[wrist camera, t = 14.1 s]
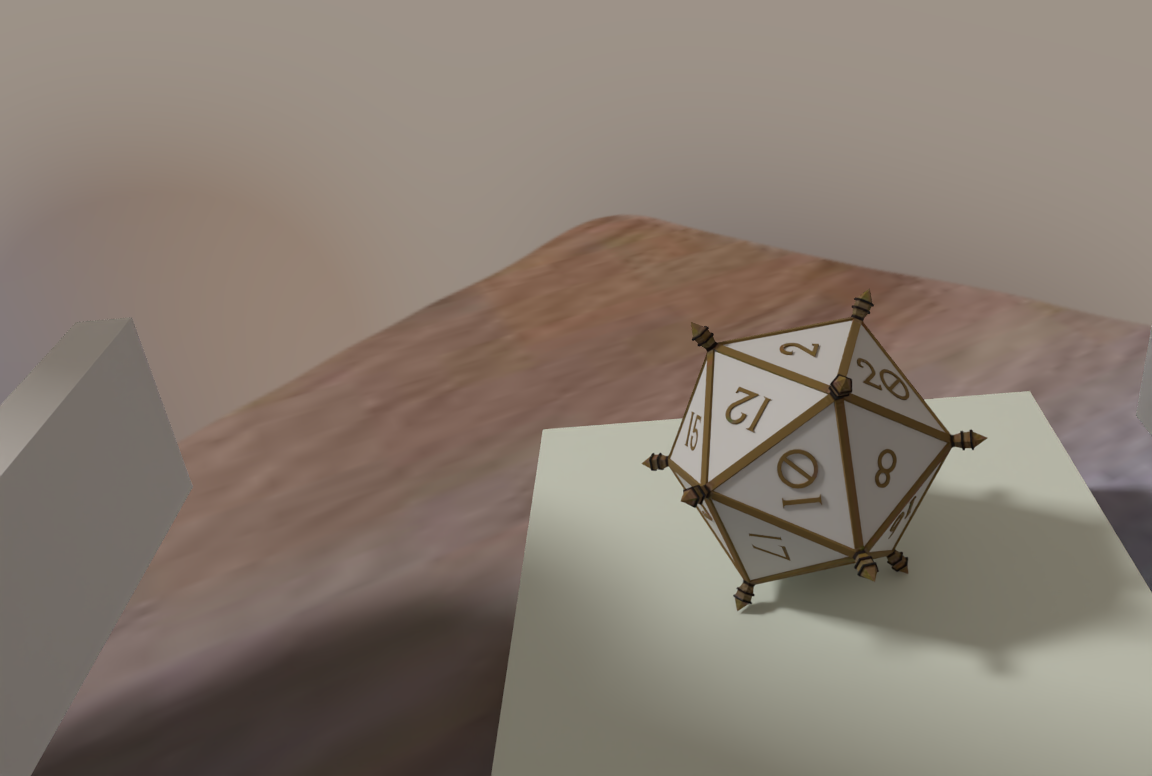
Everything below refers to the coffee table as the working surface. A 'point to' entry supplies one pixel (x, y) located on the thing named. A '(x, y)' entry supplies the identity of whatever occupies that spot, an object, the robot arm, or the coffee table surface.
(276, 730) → the coffee table surface
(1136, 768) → the base block
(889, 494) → the game die
